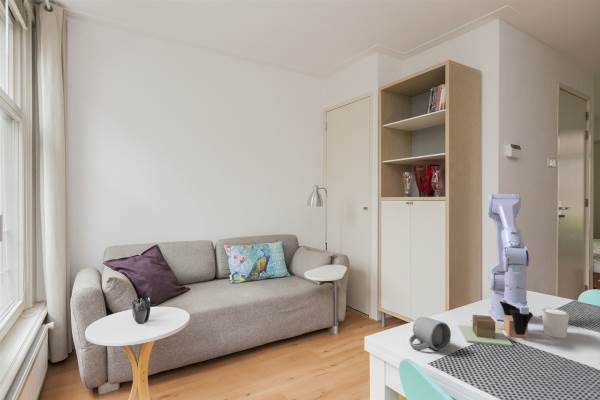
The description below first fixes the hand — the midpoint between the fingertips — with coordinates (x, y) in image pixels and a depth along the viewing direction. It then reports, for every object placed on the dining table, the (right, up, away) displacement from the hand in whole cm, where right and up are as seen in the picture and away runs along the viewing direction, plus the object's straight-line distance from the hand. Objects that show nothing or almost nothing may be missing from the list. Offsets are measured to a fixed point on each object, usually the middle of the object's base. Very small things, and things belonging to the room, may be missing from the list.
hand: (515, 329), depth 103 cm
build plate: (-11, -1, -1) cm, 11 cm away
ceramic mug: (-30, -2, -8) cm, 31 cm away
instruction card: (-4, -1, +7) cm, 9 cm away
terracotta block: (0, -2, 0) cm, 2 cm away
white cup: (+12, -2, 0) cm, 12 cm away
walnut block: (-11, -1, -1) cm, 11 cm away
